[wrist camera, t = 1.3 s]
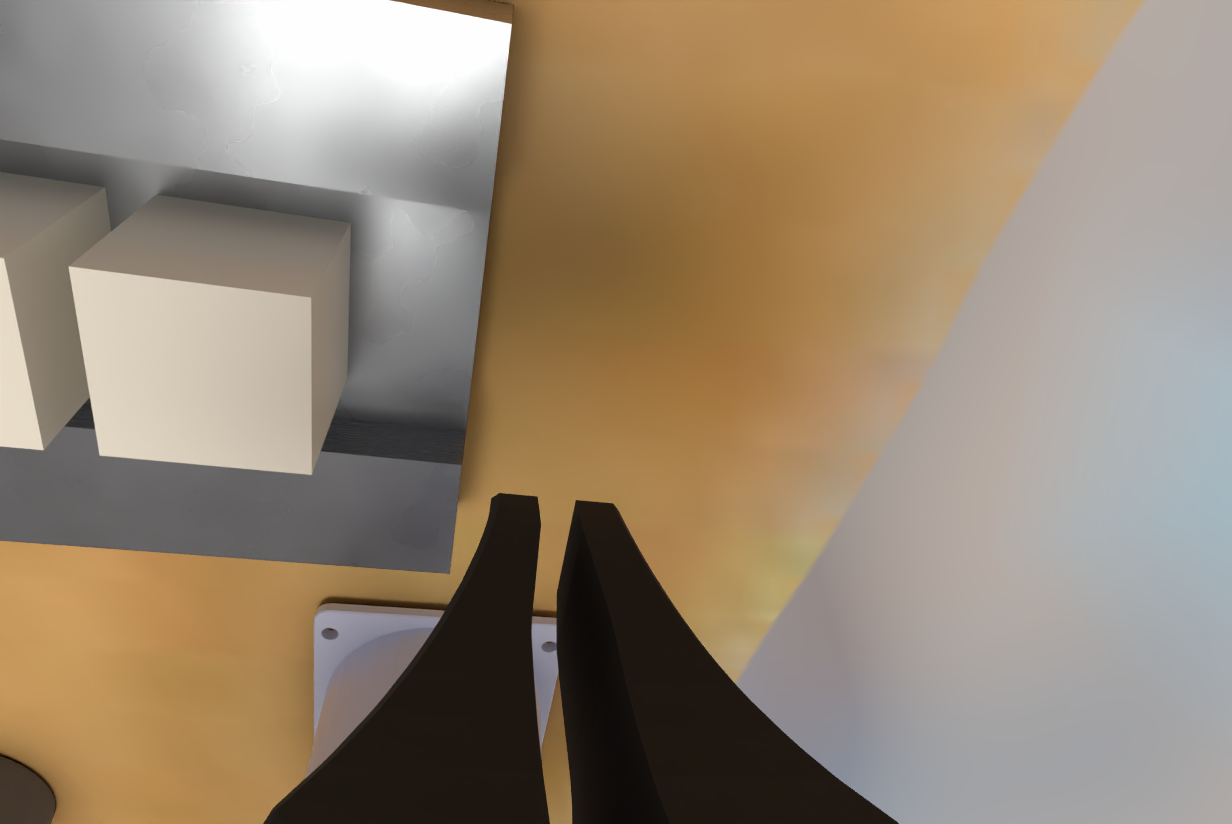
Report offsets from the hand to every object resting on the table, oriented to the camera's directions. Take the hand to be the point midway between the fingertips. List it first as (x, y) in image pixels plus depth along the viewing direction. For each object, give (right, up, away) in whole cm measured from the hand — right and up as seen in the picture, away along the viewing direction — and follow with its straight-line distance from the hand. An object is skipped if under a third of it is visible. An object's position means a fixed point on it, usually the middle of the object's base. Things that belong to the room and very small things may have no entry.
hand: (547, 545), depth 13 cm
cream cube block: (-7, +5, +5) cm, 10 cm away
